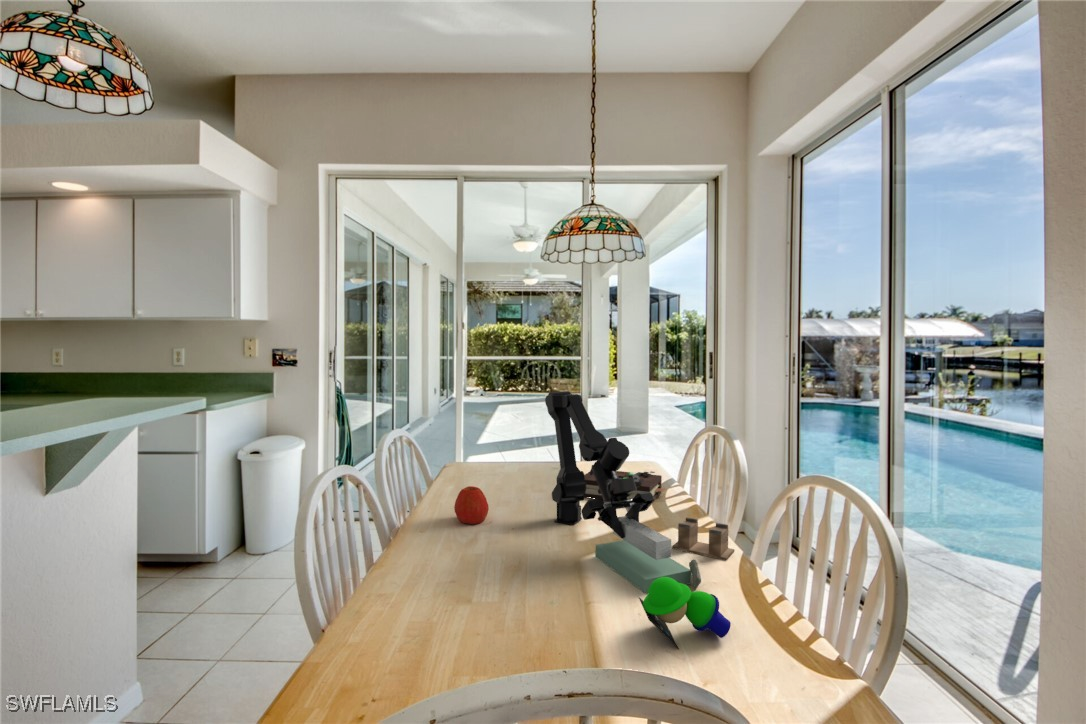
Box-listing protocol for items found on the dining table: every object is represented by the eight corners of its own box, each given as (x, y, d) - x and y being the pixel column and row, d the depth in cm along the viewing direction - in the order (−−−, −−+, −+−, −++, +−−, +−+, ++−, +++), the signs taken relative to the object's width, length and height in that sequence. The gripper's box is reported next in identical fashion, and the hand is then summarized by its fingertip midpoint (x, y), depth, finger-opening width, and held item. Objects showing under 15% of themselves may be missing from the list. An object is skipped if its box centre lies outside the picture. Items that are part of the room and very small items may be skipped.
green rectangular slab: (595, 556, 138) (595, 544, 138) (636, 549, 143) (636, 538, 143) (645, 593, 118) (645, 579, 118) (690, 583, 123) (691, 570, 123)
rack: (672, 548, 144) (672, 522, 143) (681, 540, 149) (681, 515, 149) (726, 560, 136) (726, 533, 135) (734, 551, 141) (734, 525, 141)
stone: (703, 594, 118) (703, 571, 118) (693, 593, 118) (694, 570, 118) (695, 569, 131) (695, 548, 130) (686, 569, 131) (687, 548, 131)
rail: (613, 533, 138) (613, 517, 137) (627, 531, 139) (627, 515, 139) (656, 560, 121) (656, 542, 121) (670, 557, 123) (671, 539, 123)
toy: (685, 642, 106) (631, 589, 106) (725, 602, 106) (671, 549, 106) (701, 672, 97) (642, 614, 96) (745, 628, 97) (686, 570, 96)
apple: (451, 517, 169) (451, 483, 168) (484, 514, 172) (484, 481, 171) (457, 528, 159) (456, 492, 159) (492, 524, 162) (491, 489, 162)
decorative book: (589, 465, 208) (669, 473, 196) (589, 484, 209) (668, 494, 196) (570, 476, 191) (656, 486, 178) (570, 498, 191) (655, 509, 178)
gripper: (587, 467, 134) (609, 525, 125) (651, 460, 142) (677, 515, 132) (572, 491, 142) (592, 548, 132) (633, 483, 149) (657, 537, 140)
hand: (630, 536), depth 134 cm, fingers closed on rail, 4 cm apart
